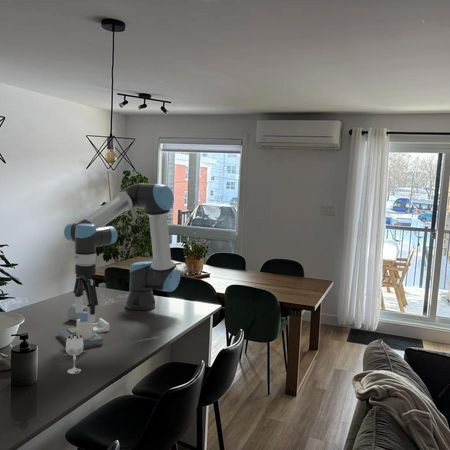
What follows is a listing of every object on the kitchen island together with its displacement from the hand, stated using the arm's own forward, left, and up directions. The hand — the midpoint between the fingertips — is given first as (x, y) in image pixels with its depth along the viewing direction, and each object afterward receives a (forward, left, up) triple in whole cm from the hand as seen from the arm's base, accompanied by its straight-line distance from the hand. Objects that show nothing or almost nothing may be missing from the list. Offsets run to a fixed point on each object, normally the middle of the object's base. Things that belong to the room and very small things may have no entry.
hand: (85, 317), depth 177 cm
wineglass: (+11, +22, -11) cm, 27 cm away
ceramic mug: (-9, -30, -11) cm, 33 cm away
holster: (-10, -13, -11) cm, 20 cm away
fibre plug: (0, 0, -11) cm, 11 cm away
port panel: (0, -4, -11) cm, 12 cm away
